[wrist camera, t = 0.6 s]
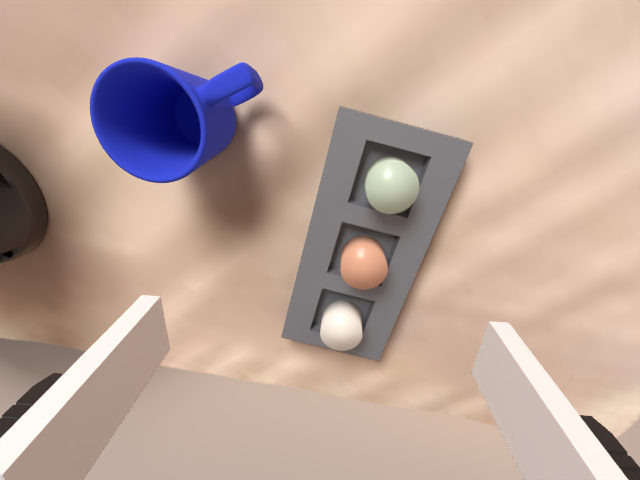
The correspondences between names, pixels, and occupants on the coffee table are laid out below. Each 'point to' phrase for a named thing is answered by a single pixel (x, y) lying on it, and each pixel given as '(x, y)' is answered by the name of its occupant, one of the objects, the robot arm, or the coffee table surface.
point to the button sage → (391, 185)
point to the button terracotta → (363, 263)
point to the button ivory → (341, 325)
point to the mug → (166, 115)
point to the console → (370, 224)
